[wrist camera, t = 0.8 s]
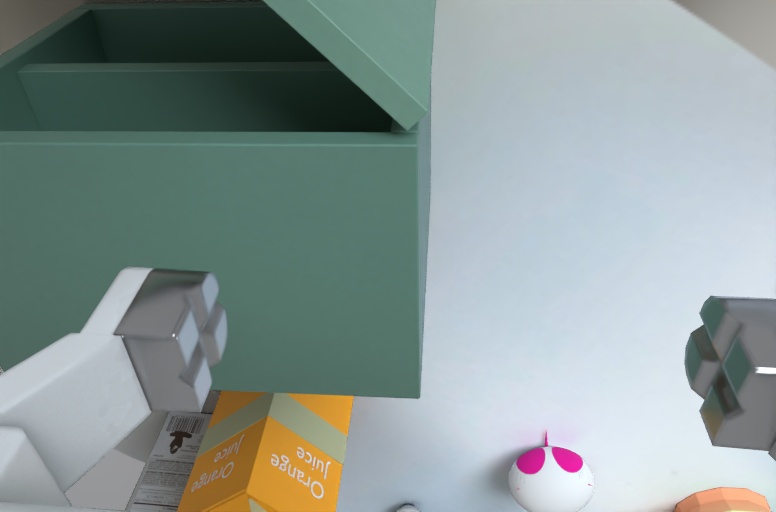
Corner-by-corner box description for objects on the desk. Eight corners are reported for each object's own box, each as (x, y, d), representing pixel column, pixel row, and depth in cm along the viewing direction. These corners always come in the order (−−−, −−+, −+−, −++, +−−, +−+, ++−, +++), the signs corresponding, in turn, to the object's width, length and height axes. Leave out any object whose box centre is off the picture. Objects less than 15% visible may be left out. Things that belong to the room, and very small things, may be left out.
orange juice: (226, 373, 55) (135, 615, 39) (291, 328, 50) (219, 579, 35) (291, 417, 58) (232, 658, 42) (358, 379, 54) (320, 630, 38)
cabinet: (82, 3, 35) (-141, 142, 22) (431, -3, 34) (417, 145, 20) (145, 195, 43) (9, 382, 30) (430, 199, 42) (420, 399, 28)
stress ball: (581, 411, 59) (595, 435, 52) (589, 493, 59) (604, 527, 53) (500, 417, 60) (505, 441, 53) (509, 497, 60) (514, 531, 54)
